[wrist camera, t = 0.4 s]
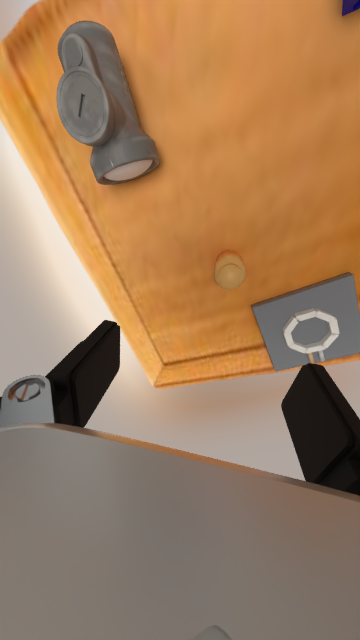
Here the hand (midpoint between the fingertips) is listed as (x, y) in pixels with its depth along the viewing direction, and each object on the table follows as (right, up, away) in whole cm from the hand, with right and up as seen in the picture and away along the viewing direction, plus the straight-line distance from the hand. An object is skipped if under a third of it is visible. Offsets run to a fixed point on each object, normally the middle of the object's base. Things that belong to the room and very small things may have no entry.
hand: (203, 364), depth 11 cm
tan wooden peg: (+6, +11, +22) cm, 25 cm away
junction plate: (+20, +1, +24) cm, 31 cm away
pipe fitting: (-8, +27, +16) cm, 33 cm away
